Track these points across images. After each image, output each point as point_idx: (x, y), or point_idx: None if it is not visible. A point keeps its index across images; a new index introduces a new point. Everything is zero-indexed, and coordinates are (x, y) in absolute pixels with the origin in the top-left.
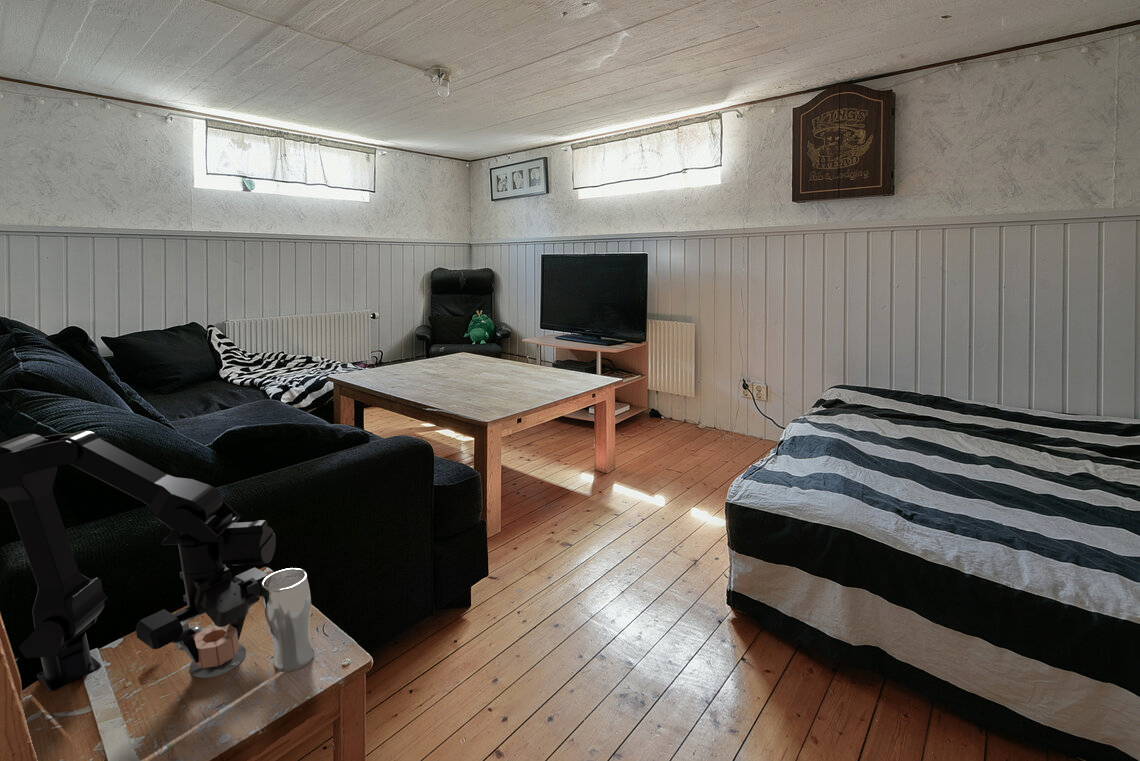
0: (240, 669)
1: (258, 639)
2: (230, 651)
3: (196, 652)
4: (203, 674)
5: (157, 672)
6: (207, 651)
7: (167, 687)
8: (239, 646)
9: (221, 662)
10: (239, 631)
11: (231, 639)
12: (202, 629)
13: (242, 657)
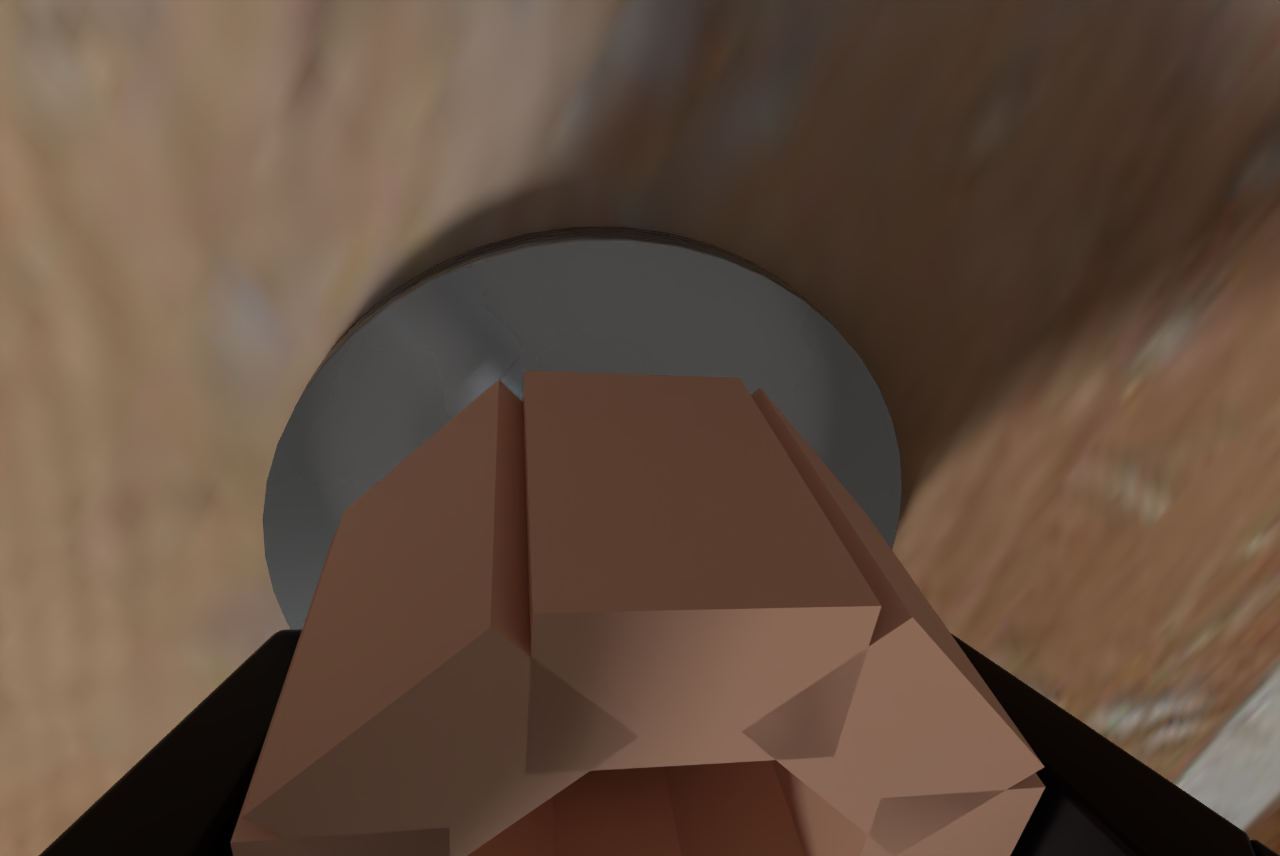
0: (534, 157)
1: (33, 533)
2: (570, 438)
3: (1038, 741)
4: (862, 446)
5: None
6: (948, 642)
7: (1044, 580)
8: (305, 568)
9: (722, 390)
10: (206, 744)
11: (511, 603)
12: None
13: (400, 327)
